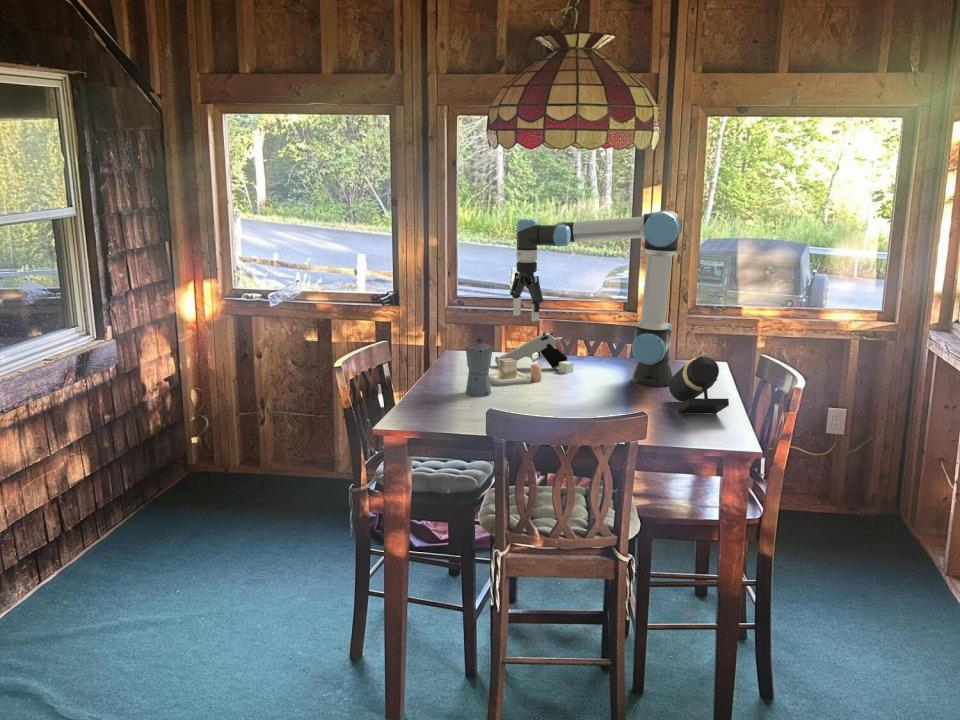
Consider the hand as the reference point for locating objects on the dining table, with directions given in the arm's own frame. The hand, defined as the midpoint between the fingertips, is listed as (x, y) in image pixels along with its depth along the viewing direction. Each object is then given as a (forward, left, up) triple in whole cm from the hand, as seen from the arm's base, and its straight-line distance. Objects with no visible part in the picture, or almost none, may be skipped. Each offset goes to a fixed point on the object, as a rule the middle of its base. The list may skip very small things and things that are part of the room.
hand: (525, 318), depth 336 cm
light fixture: (-59, -33, -24) cm, 72 cm away
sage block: (+3, -20, -23) cm, 31 cm away
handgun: (+14, -11, -24) cm, 29 cm away
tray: (-1, +8, -23) cm, 25 cm away
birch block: (-1, +8, -22) cm, 24 cm away
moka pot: (-13, +26, -23) cm, 37 cm away
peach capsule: (-5, -2, -23) cm, 24 cm away
